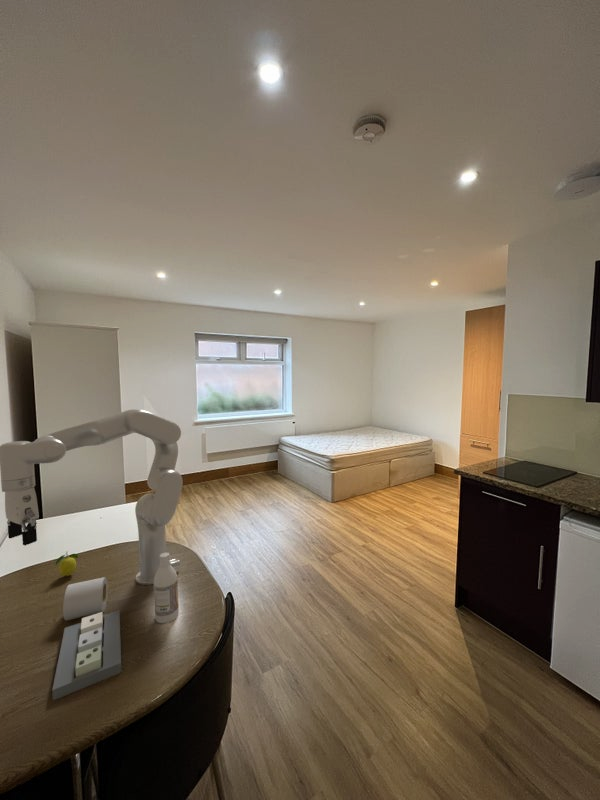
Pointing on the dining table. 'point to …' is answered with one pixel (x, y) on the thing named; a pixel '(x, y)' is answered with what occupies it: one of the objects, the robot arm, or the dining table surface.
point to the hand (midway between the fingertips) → (22, 539)
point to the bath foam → (165, 591)
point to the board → (69, 650)
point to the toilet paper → (85, 598)
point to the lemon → (67, 565)
